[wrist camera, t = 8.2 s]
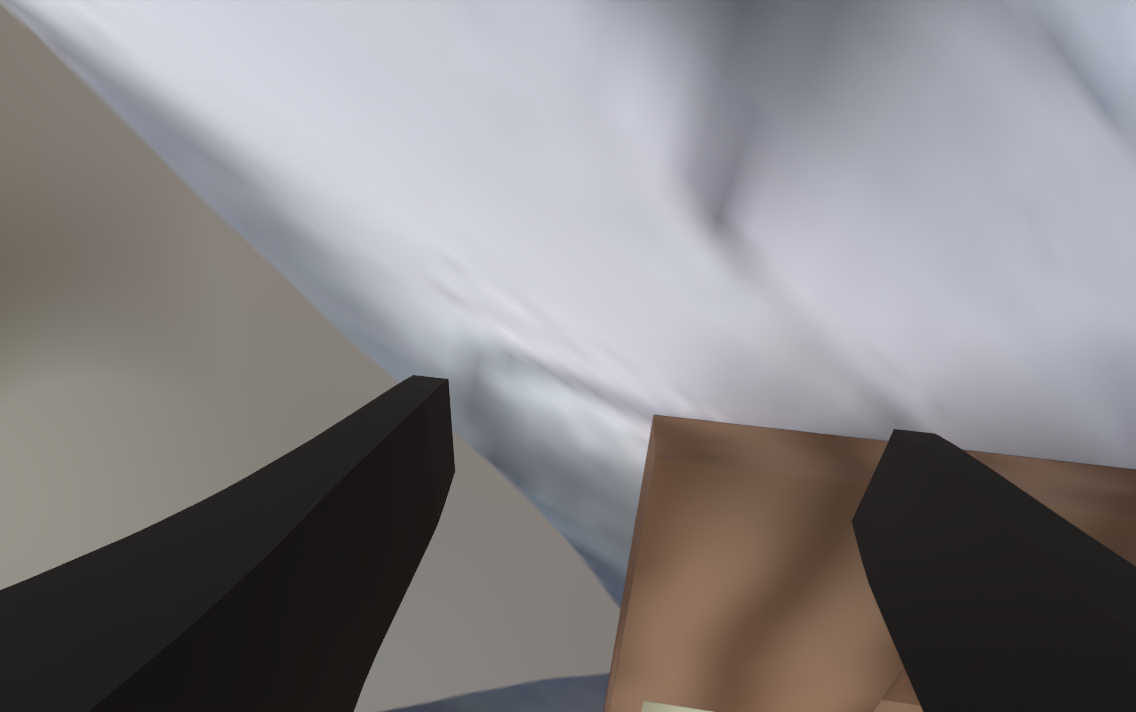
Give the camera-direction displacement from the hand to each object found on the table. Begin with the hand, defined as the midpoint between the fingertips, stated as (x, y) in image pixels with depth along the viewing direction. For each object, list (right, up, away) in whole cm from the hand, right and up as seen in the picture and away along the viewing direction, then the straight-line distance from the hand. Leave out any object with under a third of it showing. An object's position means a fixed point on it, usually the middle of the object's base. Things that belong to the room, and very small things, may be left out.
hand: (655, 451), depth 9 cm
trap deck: (+12, -13, +17) cm, 24 cm away
